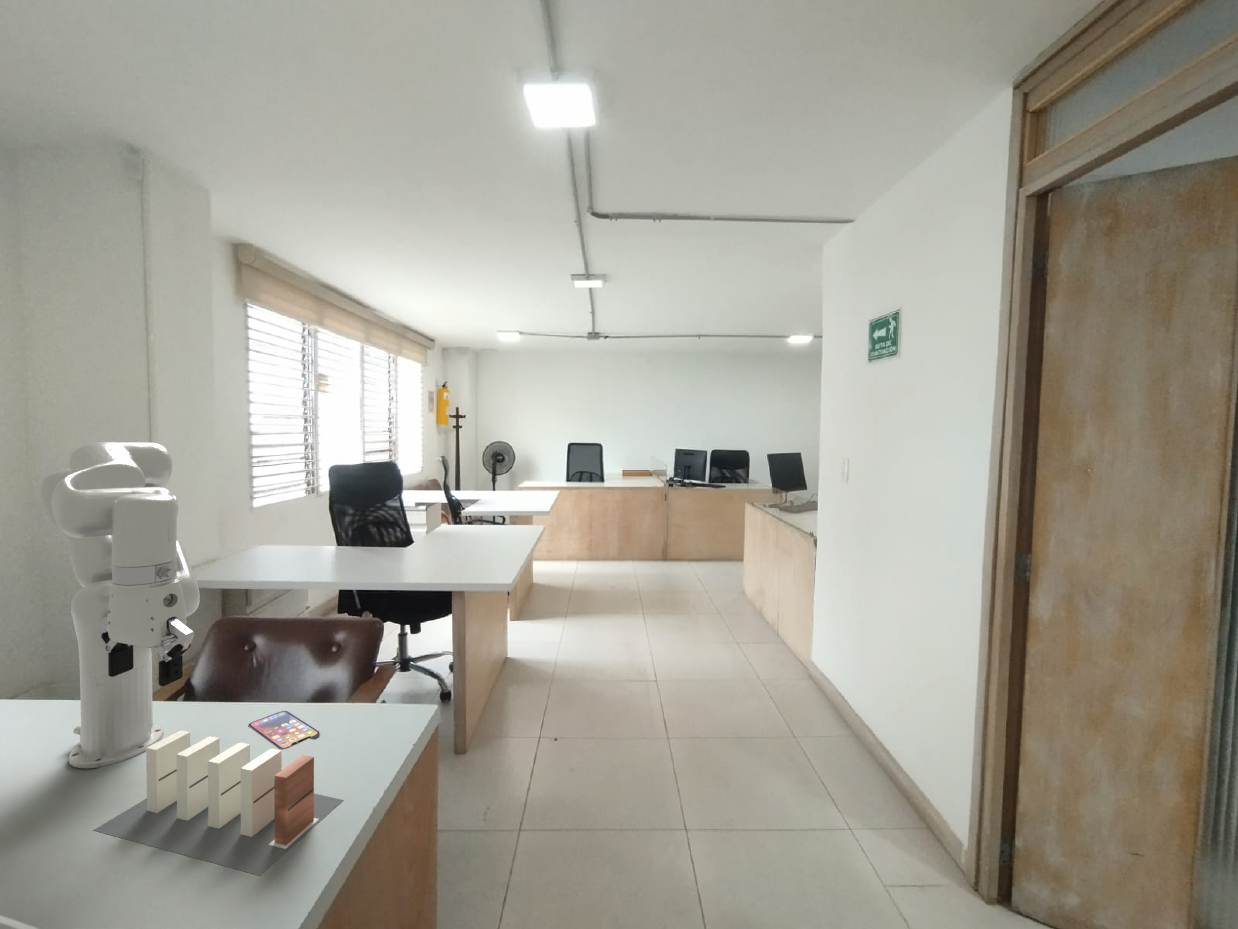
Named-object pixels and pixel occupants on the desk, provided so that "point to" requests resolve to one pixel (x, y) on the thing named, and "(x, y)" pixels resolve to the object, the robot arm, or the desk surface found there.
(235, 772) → the domino
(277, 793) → the domino
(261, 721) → the smartphone
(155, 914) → the desk surface
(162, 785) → the domino
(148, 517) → the robot arm
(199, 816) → the domino mat
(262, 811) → the domino
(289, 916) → the desk surface
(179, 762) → the domino
